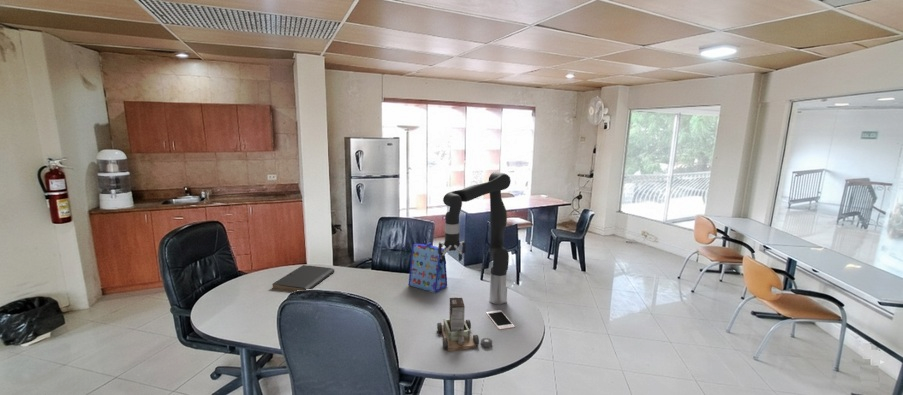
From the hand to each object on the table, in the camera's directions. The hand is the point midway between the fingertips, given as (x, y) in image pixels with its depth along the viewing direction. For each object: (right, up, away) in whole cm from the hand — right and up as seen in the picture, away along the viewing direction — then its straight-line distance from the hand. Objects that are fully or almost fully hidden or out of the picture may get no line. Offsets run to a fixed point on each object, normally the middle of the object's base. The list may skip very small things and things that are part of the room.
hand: (451, 261), depth 194 cm
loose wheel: (+16, -35, -23) cm, 45 cm away
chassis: (+3, -34, -17) cm, 38 cm away
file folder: (-96, -21, +47) cm, 109 cm away
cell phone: (+25, -32, 0) cm, 40 cm away
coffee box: (+2, -32, -15) cm, 36 cm away
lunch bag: (-15, -23, +41) cm, 49 cm away
